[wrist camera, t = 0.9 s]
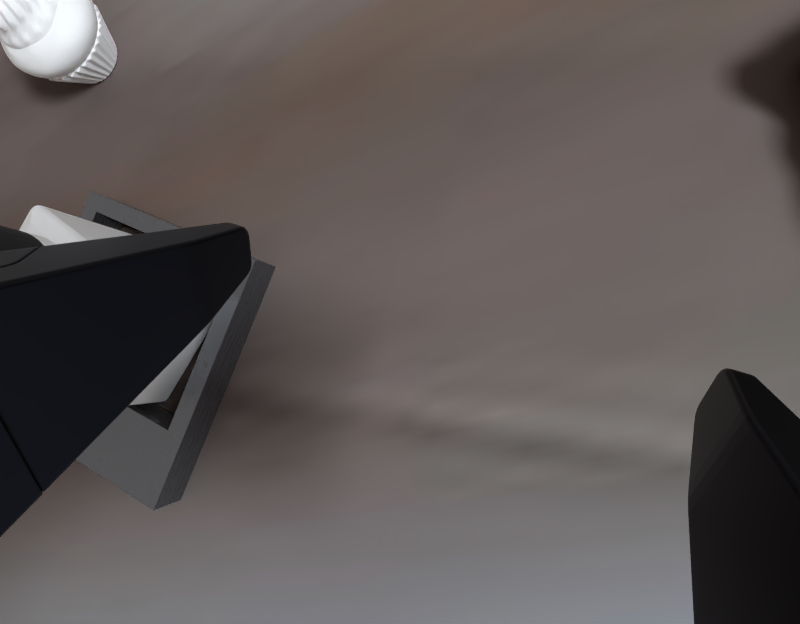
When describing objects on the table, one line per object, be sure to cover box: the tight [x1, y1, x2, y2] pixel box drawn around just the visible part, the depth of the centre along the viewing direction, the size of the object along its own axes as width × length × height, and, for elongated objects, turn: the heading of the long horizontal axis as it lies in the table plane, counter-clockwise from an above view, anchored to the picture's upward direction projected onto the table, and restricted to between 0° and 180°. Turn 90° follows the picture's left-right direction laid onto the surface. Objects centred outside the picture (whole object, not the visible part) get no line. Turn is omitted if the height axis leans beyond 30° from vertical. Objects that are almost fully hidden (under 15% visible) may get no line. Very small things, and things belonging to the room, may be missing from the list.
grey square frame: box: [76, 190, 275, 510], centre depth 28 cm, size 14×12×2 cm
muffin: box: [0, 0, 118, 84], centre depth 29 cm, size 6×6×7 cm
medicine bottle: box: [0, 205, 214, 405], centre depth 23 cm, size 7×7×12 cm
